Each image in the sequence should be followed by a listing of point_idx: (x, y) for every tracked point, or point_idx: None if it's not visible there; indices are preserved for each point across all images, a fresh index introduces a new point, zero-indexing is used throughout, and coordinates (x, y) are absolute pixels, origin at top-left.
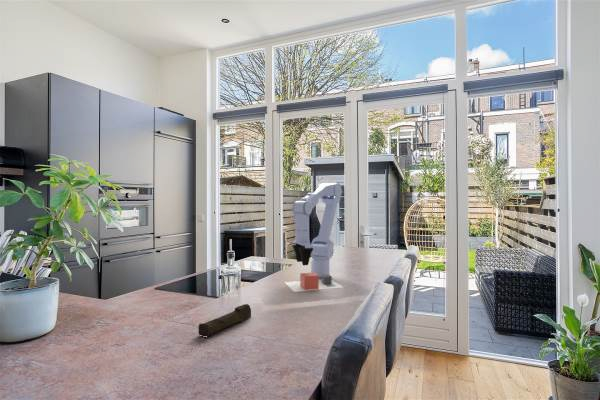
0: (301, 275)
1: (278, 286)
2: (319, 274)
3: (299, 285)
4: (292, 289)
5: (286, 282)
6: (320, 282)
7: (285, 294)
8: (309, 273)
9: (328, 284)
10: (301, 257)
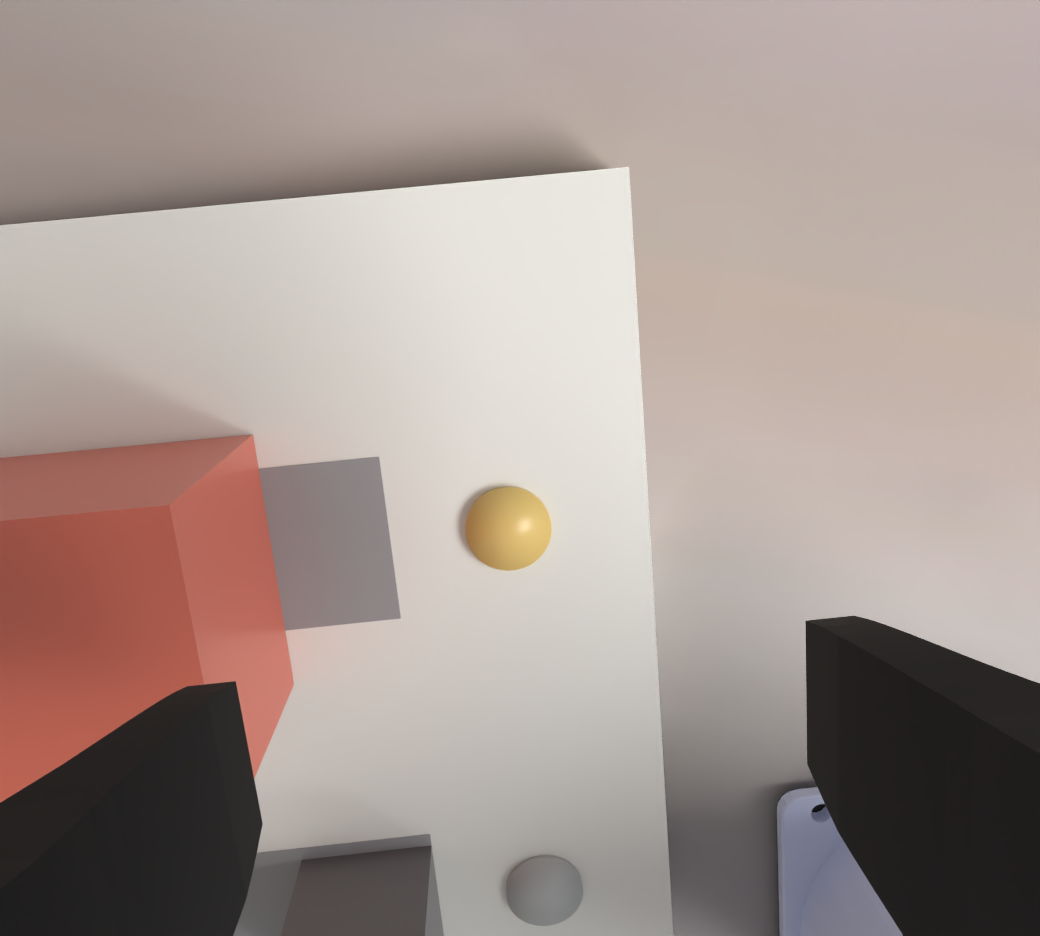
0: (76, 506)
1: (614, 47)
2: (856, 922)
3: (306, 427)
4: (22, 234)
5: (600, 212)
6: (445, 823)
7: (9, 89)
8: (123, 718)
9: (278, 911)
10: (101, 795)
